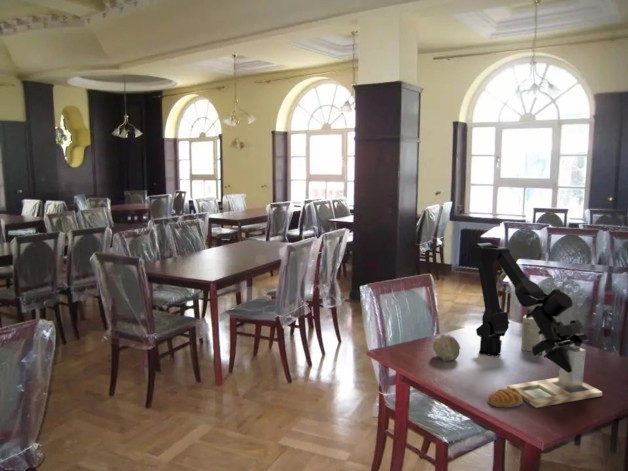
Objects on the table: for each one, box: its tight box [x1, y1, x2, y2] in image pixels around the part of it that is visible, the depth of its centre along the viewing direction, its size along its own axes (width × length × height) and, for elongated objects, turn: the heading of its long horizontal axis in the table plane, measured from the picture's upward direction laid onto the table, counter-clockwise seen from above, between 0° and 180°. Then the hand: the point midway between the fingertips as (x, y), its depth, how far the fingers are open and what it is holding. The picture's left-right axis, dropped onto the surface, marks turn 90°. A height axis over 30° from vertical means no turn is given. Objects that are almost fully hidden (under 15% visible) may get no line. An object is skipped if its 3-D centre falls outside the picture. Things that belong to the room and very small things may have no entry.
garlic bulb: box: [432, 333, 461, 362], centre depth 177 cm, size 9×8×10 cm
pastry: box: [487, 387, 524, 408], centre depth 146 cm, size 9×7×4 cm
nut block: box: [557, 345, 587, 393], centre depth 153 cm, size 5×5×14 cm
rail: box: [506, 376, 603, 408], centre depth 152 cm, size 24×12×1 cm, turn 109°
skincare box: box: [520, 314, 543, 352], centre depth 186 cm, size 6×4×12 cm
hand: (575, 370), depth 152 cm, fingers closed on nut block, 5 cm apart
